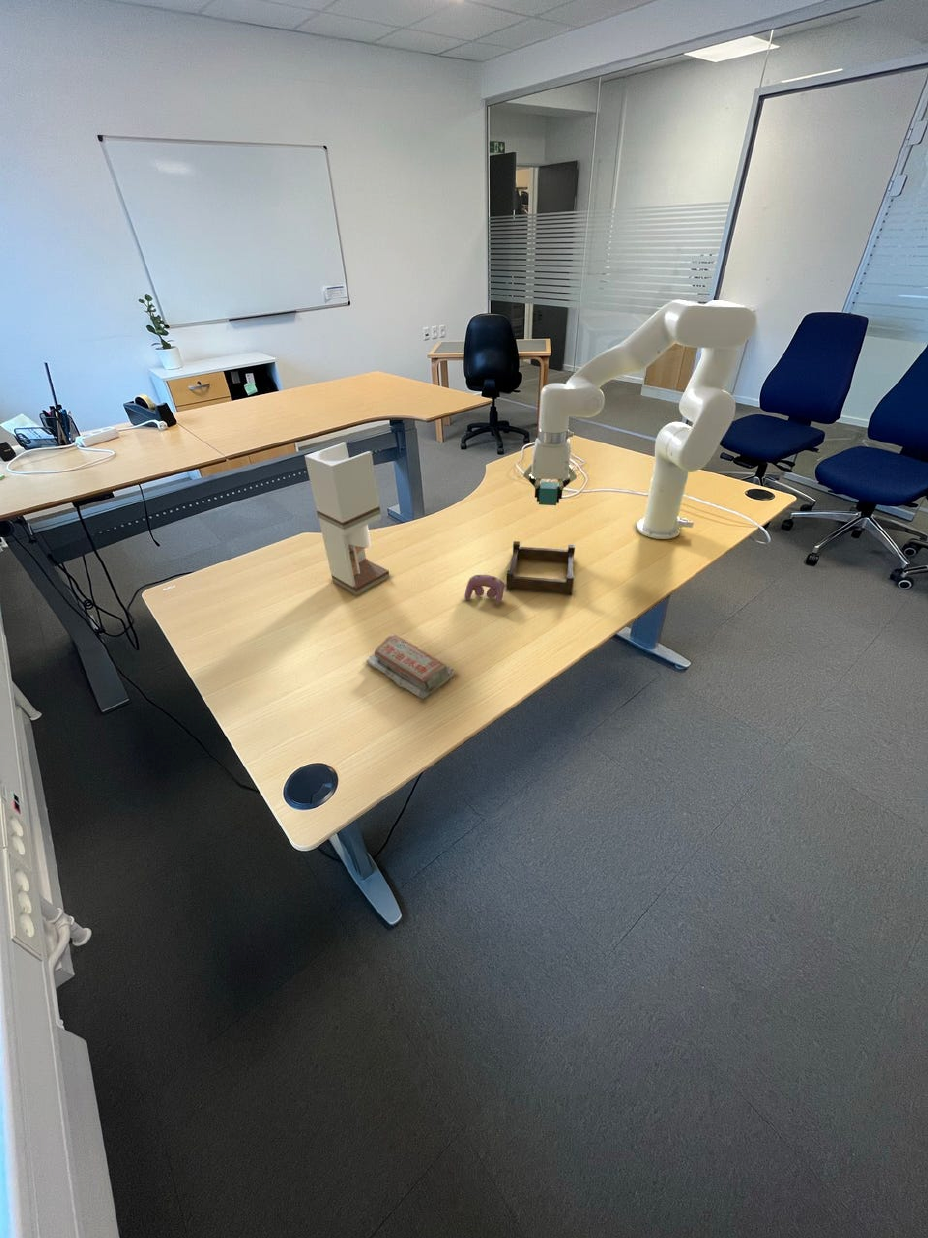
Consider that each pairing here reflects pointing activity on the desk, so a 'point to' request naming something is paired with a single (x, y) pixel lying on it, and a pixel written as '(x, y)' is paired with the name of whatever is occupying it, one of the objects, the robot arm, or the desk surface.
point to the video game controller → (486, 581)
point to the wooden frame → (541, 583)
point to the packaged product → (410, 666)
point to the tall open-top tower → (346, 514)
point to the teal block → (548, 493)
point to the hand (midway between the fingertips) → (548, 499)
